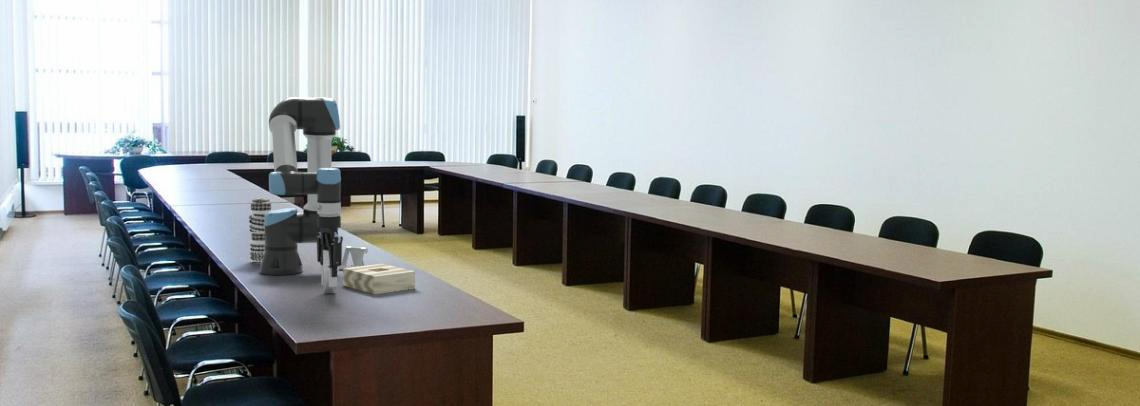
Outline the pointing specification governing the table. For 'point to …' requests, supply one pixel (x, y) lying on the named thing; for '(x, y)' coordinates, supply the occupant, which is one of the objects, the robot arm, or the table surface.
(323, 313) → the table surface
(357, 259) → the portable electronic device stand
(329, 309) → the table surface
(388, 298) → the table surface
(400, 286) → the block
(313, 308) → the table surface
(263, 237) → the decorative candle
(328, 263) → the steel pin
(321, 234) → the robot arm
